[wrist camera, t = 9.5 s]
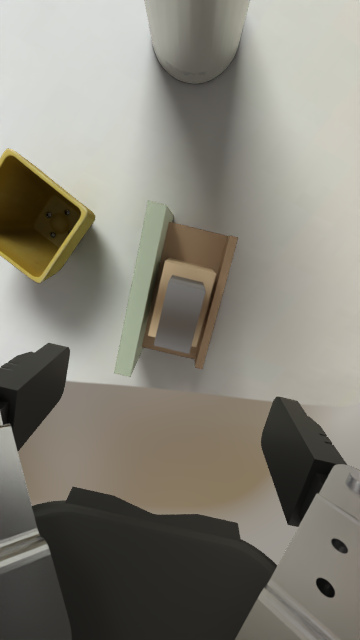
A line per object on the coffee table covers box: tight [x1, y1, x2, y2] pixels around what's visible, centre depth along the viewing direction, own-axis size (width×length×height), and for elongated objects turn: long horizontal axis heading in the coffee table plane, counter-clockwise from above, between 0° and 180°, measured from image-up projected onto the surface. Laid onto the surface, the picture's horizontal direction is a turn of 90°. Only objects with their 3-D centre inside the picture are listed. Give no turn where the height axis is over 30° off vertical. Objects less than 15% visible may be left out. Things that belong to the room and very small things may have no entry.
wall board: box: [114, 201, 238, 377], centre depth 33 cm, size 16×9×11 cm, turn 167°
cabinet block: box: [148, 258, 216, 354], centre depth 29 cm, size 7×5×11 cm, turn 166°
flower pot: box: [0, 149, 95, 283], centre depth 33 cm, size 9×9×9 cm
